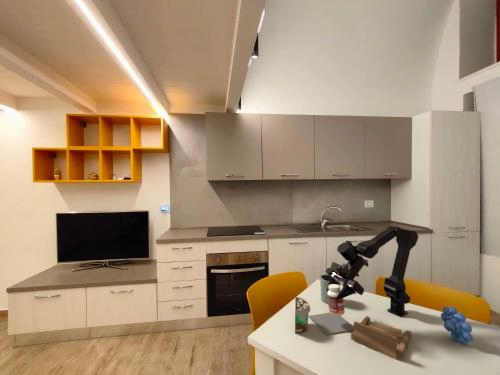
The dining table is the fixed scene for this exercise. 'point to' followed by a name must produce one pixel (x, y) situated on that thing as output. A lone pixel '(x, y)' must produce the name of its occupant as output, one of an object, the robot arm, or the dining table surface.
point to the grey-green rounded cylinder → (325, 287)
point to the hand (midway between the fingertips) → (331, 296)
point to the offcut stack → (388, 330)
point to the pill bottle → (335, 300)
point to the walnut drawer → (379, 339)
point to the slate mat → (331, 323)
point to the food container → (301, 315)
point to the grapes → (456, 325)
